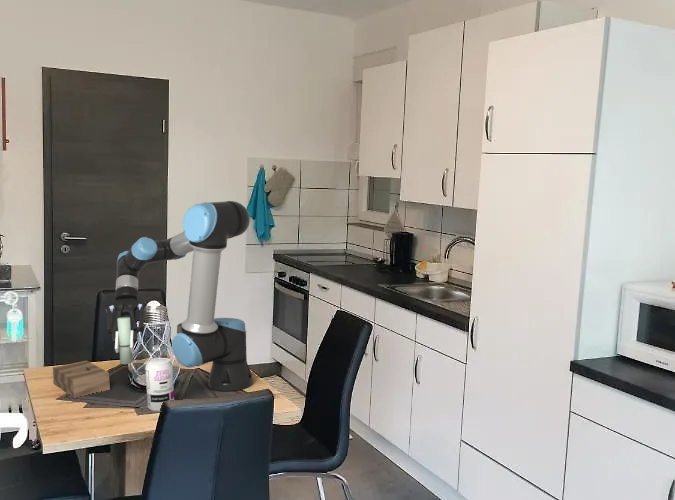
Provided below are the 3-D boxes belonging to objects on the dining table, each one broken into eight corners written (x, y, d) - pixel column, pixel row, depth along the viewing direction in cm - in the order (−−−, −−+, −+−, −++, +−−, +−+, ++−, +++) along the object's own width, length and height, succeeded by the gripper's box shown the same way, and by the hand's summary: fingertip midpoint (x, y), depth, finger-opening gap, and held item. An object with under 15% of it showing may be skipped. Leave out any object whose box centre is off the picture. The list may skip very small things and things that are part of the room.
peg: (135, 362, 226) (132, 318, 224) (123, 364, 223) (120, 320, 221) (129, 359, 229) (127, 316, 227) (117, 362, 226) (114, 318, 224)
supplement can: (161, 401, 219) (158, 356, 217) (180, 405, 215) (177, 359, 213) (142, 409, 212) (139, 362, 210) (161, 413, 208) (158, 366, 206)
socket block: (109, 389, 231) (108, 372, 231) (74, 398, 224) (73, 380, 223) (87, 376, 246) (86, 360, 246) (53, 383, 239) (52, 367, 238)
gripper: (153, 295, 240) (152, 353, 226) (102, 298, 237) (98, 357, 223) (151, 283, 234) (150, 342, 220) (99, 286, 231) (94, 346, 217)
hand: (124, 349), depth 221 cm, fingers closed on peg, 4 cm apart
